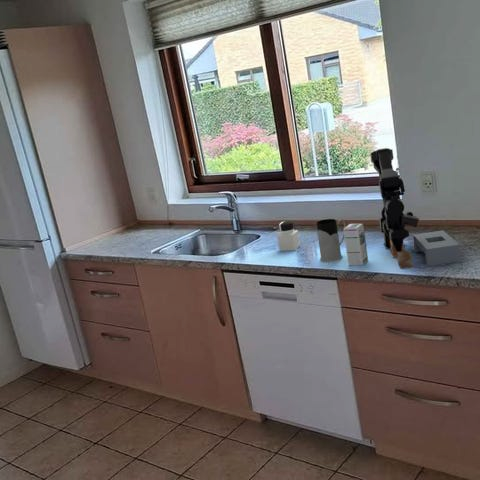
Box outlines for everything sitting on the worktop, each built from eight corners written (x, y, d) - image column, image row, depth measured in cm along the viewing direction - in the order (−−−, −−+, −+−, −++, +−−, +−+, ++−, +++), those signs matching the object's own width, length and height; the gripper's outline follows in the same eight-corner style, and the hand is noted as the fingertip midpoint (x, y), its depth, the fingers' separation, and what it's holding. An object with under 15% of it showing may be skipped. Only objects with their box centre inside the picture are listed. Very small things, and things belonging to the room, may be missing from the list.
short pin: (400, 268, 196) (399, 255, 195) (398, 265, 200) (397, 252, 198) (412, 267, 195) (411, 253, 194) (410, 263, 199) (408, 250, 198)
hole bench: (428, 265, 194) (426, 249, 192) (414, 249, 213) (413, 234, 212) (460, 261, 193) (459, 244, 191) (444, 245, 212) (443, 230, 211)
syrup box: (363, 265, 206) (358, 227, 202) (347, 265, 209) (342, 227, 206) (368, 260, 210) (363, 223, 207) (353, 260, 214) (348, 223, 210)
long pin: (393, 257, 208) (391, 234, 206) (391, 254, 212) (389, 231, 210) (404, 256, 208) (402, 233, 206) (402, 253, 212) (399, 230, 210)
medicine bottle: (300, 245, 246) (296, 219, 243) (294, 250, 240) (290, 223, 237) (285, 246, 249) (281, 220, 246) (279, 251, 243) (275, 224, 240)
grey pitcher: (315, 260, 222) (310, 223, 218) (340, 250, 229) (336, 214, 226) (331, 263, 215) (326, 225, 211) (356, 252, 222) (352, 215, 219)
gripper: (421, 211, 196) (425, 254, 200) (409, 201, 214) (413, 240, 218) (389, 216, 197) (393, 258, 201) (380, 205, 215) (384, 245, 219)
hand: (397, 250), depth 210 cm, fingers open, 7 cm apart
